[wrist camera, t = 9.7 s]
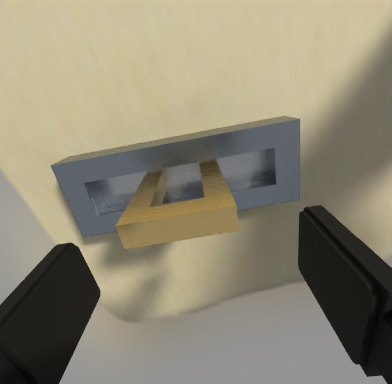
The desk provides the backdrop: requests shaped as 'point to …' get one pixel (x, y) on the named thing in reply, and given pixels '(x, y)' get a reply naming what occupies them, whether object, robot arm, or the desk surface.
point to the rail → (185, 170)
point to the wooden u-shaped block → (177, 211)
